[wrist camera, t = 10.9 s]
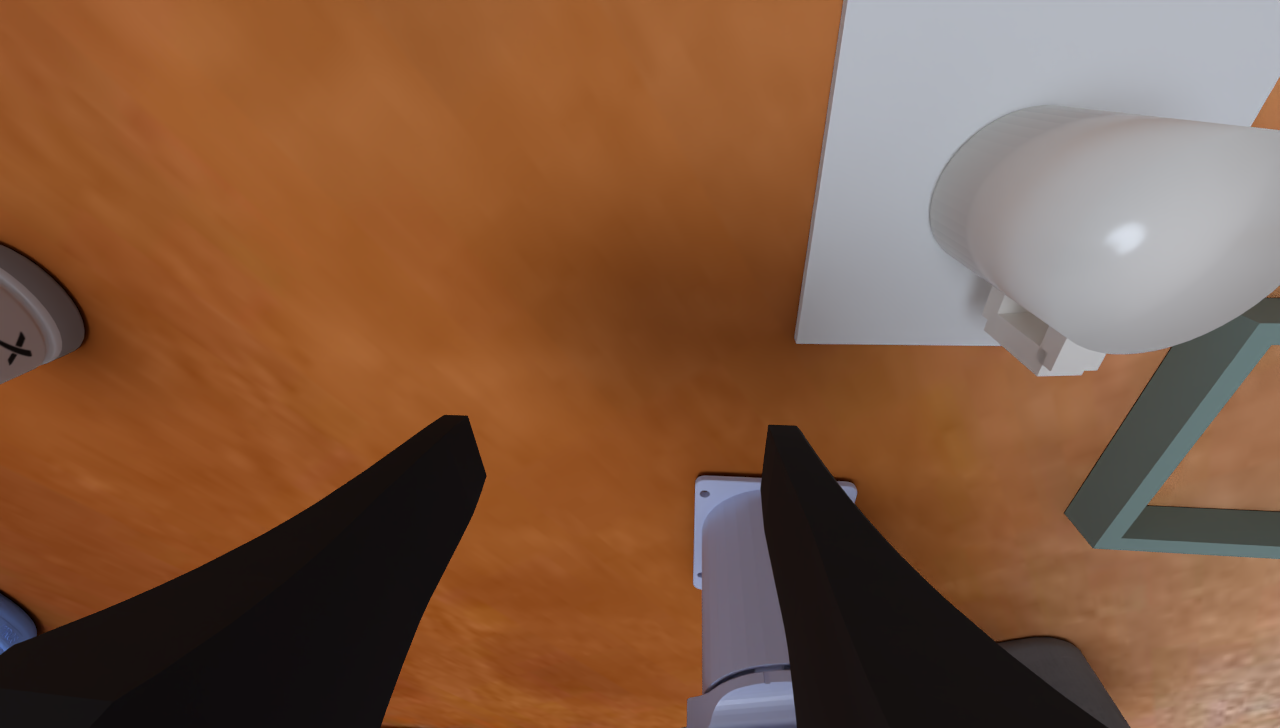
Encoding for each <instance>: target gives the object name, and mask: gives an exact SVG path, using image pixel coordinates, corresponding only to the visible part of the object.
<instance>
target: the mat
mask: <svg viewBox="0 0 1280 728" xmlns="http://www.w3.org/2000/svg"><path fill="white" fill-rule="evenodd" d="M1279 77H1280V0H843V7H842V14H841V21H840V27H839V34H838V41H837V48H836V55H835V62H834V69H833V75H832V82H831V89H830V96H829V103H828V110H827V117H826V123H825V130H824V137H823V144H822V151H821V158H820V165H819V171H818V178H817V185H816V192H815V199H814V206H813V212H812V219H811V226H810V233H809V240H808V247H807V254H806V260H805V267H804V274H803V281H802V288H801V295H800V302H799V308H798V315H797V322H796V329H795V336H794V339H795V341H796V344H869V345H964V346H1002V345H1000V344H999V343H998V342H997V341H996V340H995V339H993V338H992V337H991V336H990V335H989V334H988V333H987V332H985V331H984V328H985V325H986V322H987V319H986V318H985V317H984V316H983V315H982V313H983V310H984V307H985V305H986V302H987V299H988V296H989V294H990V291H991V288H992V285H991V284H989V283H988V282H986V281H985V280H984V279H982V278H981V277H979V276H978V275H977V274H975V273H974V272H972V271H971V270H969V269H968V268H967V267H965V266H964V265H962V264H961V263H959V262H958V261H957V260H955V259H954V258H952V257H951V256H950V255H948V254H947V253H946V252H945V251H944V250H943V249H942V248H941V247H940V246H939V244H938V243H937V241H936V239H935V237H934V235H933V232H932V228H931V221H930V209H931V203H932V197H933V194H934V191H935V188H936V186H937V183H938V181H939V179H940V177H941V175H942V173H943V172H944V170H945V168H946V166H947V165H948V164H949V162H950V161H951V159H952V158H953V157H954V155H955V154H956V153H957V152H958V151H959V150H960V149H961V148H962V146H963V145H964V144H966V143H967V142H968V141H969V140H970V139H971V138H972V137H973V136H974V135H976V134H977V133H978V132H979V131H981V130H982V129H983V128H985V127H986V126H988V125H990V124H991V123H993V122H994V121H996V120H998V119H1000V118H1002V117H1004V116H1006V115H1008V114H1011V113H1013V112H1016V111H1018V110H1022V109H1025V108H1029V107H1034V106H1041V105H1058V106H1067V107H1076V108H1085V109H1094V110H1103V111H1112V112H1121V113H1130V114H1139V115H1148V116H1156V117H1165V118H1174V119H1183V120H1192V121H1201V122H1210V123H1219V124H1228V125H1237V126H1246V127H1251V125H1252V123H1253V121H1254V120H1255V118H1256V116H1257V115H1258V113H1259V111H1260V109H1261V108H1262V106H1263V104H1264V103H1265V101H1266V99H1267V97H1268V96H1269V94H1270V92H1271V90H1272V89H1273V87H1274V85H1275V84H1276V82H1277V80H1278V78H1279Z"/></svg>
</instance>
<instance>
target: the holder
mask: <svg viewBox="0 0 1280 728" xmlns="http://www.w3.org/2000/svg"><path fill="white" fill-rule="evenodd" d="M1271 345H1280V298H1264V299H1263V300H1261V301H1260V302H1259V303H1257V304H1256V305H1255V306H1253V307H1252V308H1250V309H1249V310H1247V311H1246V312H1244V313H1243V314H1241V315H1240V316H1238V317H1236V318H1235V319H1233V320H1231V321H1230V322H1228V323H1226V324H1224V325H1223V326H1221V327H1219V328H1217V329H1215V330H1213V331H1210V332H1208V333H1206V334H1204V335H1202V336H1199V337H1197V338H1195V339H1192V340H1190V341H1187V342H1184V343H1181V344H1178V345H1175V346H1173V347H1172V348H1171V350H1170V351H1169V353H1168V354H1167V356H1166V357H1165V359H1164V360H1163V362H1162V364H1161V365H1160V367H1159V368H1158V370H1157V371H1156V373H1155V374H1154V376H1153V377H1152V379H1151V381H1150V382H1149V384H1148V385H1147V387H1146V388H1145V390H1144V391H1143V393H1142V394H1141V396H1140V397H1139V399H1138V401H1137V402H1136V404H1135V405H1134V407H1133V408H1132V410H1131V411H1130V413H1129V414H1128V416H1127V418H1126V419H1125V421H1124V422H1123V424H1122V425H1121V427H1120V428H1119V430H1118V431H1117V433H1116V434H1115V436H1114V438H1113V439H1112V441H1111V442H1110V444H1109V445H1108V447H1107V448H1106V450H1105V451H1104V453H1103V454H1102V456H1101V458H1100V459H1099V461H1098V462H1097V464H1096V465H1095V467H1094V468H1093V470H1092V471H1091V473H1090V475H1089V476H1088V478H1087V479H1086V481H1085V482H1084V484H1083V485H1082V487H1081V488H1080V490H1079V491H1078V493H1077V495H1076V496H1075V498H1074V499H1073V501H1072V502H1071V504H1070V505H1069V507H1068V508H1067V510H1066V512H1065V513H1064V514H1065V515H1066V516H1067V517H1068V519H1069V520H1070V521H1071V522H1072V523H1073V525H1074V526H1075V527H1076V528H1077V530H1078V531H1079V532H1080V533H1081V534H1082V536H1083V537H1084V538H1085V539H1086V540H1087V542H1088V543H1089V544H1090V545H1091V547H1092V548H1095V549H1113V550H1130V551H1148V552H1166V553H1183V554H1201V555H1219V556H1237V557H1254V558H1272V559H1280V512H1269V511H1248V510H1226V509H1204V508H1183V507H1161V506H1147V504H1148V503H1149V502H1150V500H1151V499H1152V498H1153V497H1154V495H1155V494H1156V493H1157V491H1158V490H1159V489H1160V488H1161V486H1162V485H1163V484H1164V482H1165V481H1166V480H1167V479H1168V477H1169V476H1170V475H1171V473H1172V472H1173V471H1174V470H1175V468H1176V467H1177V466H1178V464H1179V463H1180V462H1181V461H1182V459H1183V458H1184V457H1185V455H1186V454H1187V453H1188V452H1189V450H1190V449H1191V448H1192V446H1193V445H1194V444H1195V443H1196V441H1197V440H1198V439H1199V437H1200V436H1201V435H1202V434H1203V432H1204V431H1205V430H1206V428H1207V427H1208V426H1209V425H1210V423H1211V422H1212V421H1213V419H1214V418H1215V417H1216V416H1217V414H1218V413H1219V412H1220V410H1221V409H1222V408H1223V407H1224V405H1225V404H1226V403H1227V401H1228V400H1229V399H1230V398H1231V396H1232V395H1233V394H1234V392H1235V391H1236V390H1237V389H1238V387H1239V386H1240V385H1241V383H1242V382H1243V381H1244V380H1245V378H1246V377H1247V376H1248V375H1249V373H1250V372H1251V371H1252V369H1253V368H1254V367H1255V366H1256V364H1257V363H1258V362H1259V360H1260V359H1261V358H1262V357H1263V355H1264V354H1265V353H1266V351H1267V350H1268V349H1269V348H1270V346H1271Z"/></svg>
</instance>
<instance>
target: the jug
mask: <svg viewBox="0 0 1280 728" xmlns="http://www.w3.org/2000/svg"><path fill="white" fill-rule="evenodd" d="M930 221H931V228H932V232H933V235H934V237H935V239H936V241H937V243H938V244H939V246H940V247H941V248H942V249H943V250H944V251H945V252H946V253H947V254H948V255H950V256H951V257H952V258H954V259H955V260H957V261H958V262H959V263H961V264H962V265H964V266H965V267H967V268H968V269H969V270H971V271H972V272H974V273H975V274H977V275H978V276H979V277H981V278H982V279H984V280H985V281H986V282H988V283H989V284H991V285H992V288H991V291H990V294H989V296H988V299H987V302H986V305H985V307H984V310H983V313H982V315H983V316H984V317H985V318H986V319H987V322H986V325H985V328H984V331H985V332H987V333H988V334H989V335H990V336H991V337H992V338H993V339H995V340H996V341H997V342H998V343H999V344H1000V345H1002V346H1003V347H1004V348H1005V349H1006V350H1007V351H1008V352H1010V353H1011V354H1012V355H1013V356H1014V357H1015V358H1017V359H1018V360H1019V361H1020V362H1021V363H1022V364H1023V365H1025V366H1026V367H1027V368H1028V369H1029V370H1030V371H1032V372H1033V373H1034V374H1035V375H1036V376H1067V375H1082V373H1083V372H1084V371H1092V370H1098V368H1099V366H1100V364H1101V362H1102V361H1103V359H1104V357H1105V355H1106V353H1107V354H1136V353H1144V352H1150V351H1156V350H1160V349H1164V348H1168V347H1172V346H1175V345H1178V344H1181V343H1184V342H1187V341H1190V340H1192V339H1195V338H1197V337H1199V336H1202V335H1204V334H1206V333H1208V332H1210V331H1213V330H1215V329H1217V328H1219V327H1221V326H1223V325H1224V324H1226V323H1228V322H1230V321H1231V320H1233V319H1235V318H1236V317H1238V316H1240V315H1241V314H1243V313H1244V312H1246V311H1247V310H1249V309H1250V308H1252V307H1253V306H1255V305H1256V304H1257V303H1259V302H1260V301H1261V300H1263V299H1264V298H1265V297H1266V296H1268V295H1269V294H1270V293H1271V292H1273V291H1274V290H1275V289H1276V288H1277V287H1278V286H1279V285H1280V130H1272V129H1264V128H1255V127H1246V126H1237V125H1228V124H1219V123H1210V122H1201V121H1192V120H1183V119H1174V118H1165V117H1156V116H1148V115H1139V114H1130V113H1121V112H1112V111H1103V110H1094V109H1085V108H1076V107H1067V106H1058V105H1041V106H1034V107H1029V108H1025V109H1022V110H1018V111H1016V112H1013V113H1011V114H1008V115H1006V116H1004V117H1002V118H1000V119H998V120H996V121H994V122H993V123H991V124H990V125H988V126H986V127H985V128H983V129H982V130H981V131H979V132H978V133H977V134H976V135H974V136H973V137H972V138H971V139H970V140H969V141H968V142H967V143H966V144H964V145H963V146H962V148H961V149H960V150H959V151H958V152H957V153H956V154H955V155H954V157H953V158H952V159H951V161H950V162H949V164H948V165H947V166H946V168H945V170H944V172H943V173H942V175H941V177H940V179H939V181H938V183H937V186H936V188H935V191H934V194H933V197H932V203H931V209H930Z"/></svg>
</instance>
